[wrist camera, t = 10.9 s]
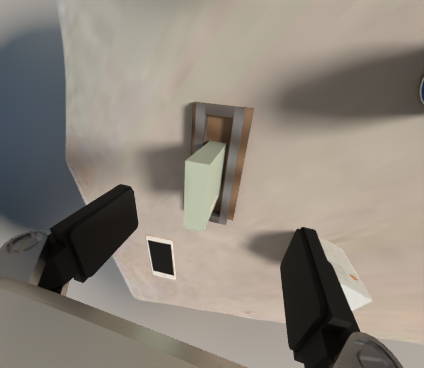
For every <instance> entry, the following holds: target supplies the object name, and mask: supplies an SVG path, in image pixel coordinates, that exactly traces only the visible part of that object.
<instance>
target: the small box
mask: <svg viewBox="0 0 424 368" xmlns="http://www.w3.org/2000/svg"><path fill="white" fill-rule="evenodd" d="M318 238H319V240H320V243H321V245H322V248H323V250H324V253H325V255H326V258H327V260H328V261H329V262H330V263H331V264H332V266H333V268H334V270H335V272H336V275H337V277H338V280H339V282H340V284H341V287H342V289H343V291H344V294H345V296H346V299H347V301H348V303H349V306H350V308H351V311H353V310H355V309H357V308H359V307H361V306H363V305H365V304H367V303H369V302H371V301H372V298H371V296H370V295H369V293H368V291H367V290H366V288H365V286H364V285H363V283H362V281H361V280H360V278H359V276H358V275H357V273H356V271H355V270H354V268H353V266H352V265H351V263H350V261H349V260H348V258H347V256H346V255H345V253H344V251H343V249H341V248H339V247H338V246H336V245H334V244H332V243H330V242H328V241H327V240H325V239H323V238H321V237H319V236H318Z"/></svg>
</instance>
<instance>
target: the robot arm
mask: <svg viewBox="0 0 424 368" xmlns="http://www.w3.org/2000/svg"><path fill="white" fill-rule="evenodd" d="M137 227H138V218H137V211H136V204H135V197H134V191H133V190H132V188H131V187H130V186H127V185H122V184H120V185H118V186H116V187H115V188H113V189H112V190H110V191H108V192H107V193H105V194H104V195H102V196H100V197H99V198H97V199H96V200H94V201H92V202H91V203H89V204H88V205H86V206H85V207H83V208H81V209H80V210H78V211H77V212H75V213H74V214H72V215H70V216H69V217H67V218H66V219H64V220H62V221H61V222H59V223H58V224H56V225H54V226H53V227H52V228H50V230H51V234H50V235H48V234H47V233H46V232H45V231H42V230H34V231H29V232H25V233H22V234H19V235H17V236H15V237H13V238H11V239H10V240H9V241H7V242H6V243H5V244H4V245H3V246H2V247H1V248H0V368H246V367H245V366H242V365H240V364H237V363H235V362H232V361H230V360H227V359H225V358H222V357H219V356H217V355H214V354H212V353H209V352H207V351H204V350H202V349H199V348H197V347H194V346H192V345H189V344H187V343H184V342H182V341H179V340H177V339H174V338H171V337H169V336H166V335H164V334H161V333H159V332H156V331H153V330H151V329H148V328H145V327H143V326H141V325H138V324H136V323H133V322H130V321H128V320H125V319H123V318H120V317H118V316H115V315H112V314H110V313H107V312H105V311H102V310H99V309H97V308H94V307H92V306H89V305H86V304H84V303H81V302H79V301H76V300H73V299H71V298H68V297H66V293H67V289H68V285H69V281H70V280H71V279H72V278H74V280H76V281H79V282H82V283H84V282H85V281H86V280H87V278H88V277H91V276H93V275H94V274H95V273H96V272H97V270H99V268H100V267H101V266H102V265H103V264H104V263H105V262H106V261H107V260H108V259H109V258H110V257H111V256H112V255H113V253H114V252H115V251H116V250H117V249H118V248H119V247H120V246H121V245H122V244H123V243H124V242H125V241H126V240H127V238H128V237H129V236H130V235H131V234H132V233H133V232H134V231H135V230H136V229H137ZM280 271H281V280H282V290H283V299H284V308H285V317H286V326H287V335H288V344H289V348H290V349H291V350H293V352H294V359H295V360H296V361H298V362H301V363H304V366H305V368H403V367H402V365H401V363H400V362H399V361H398V359H397V358H396V357H395V356H394V355H393V353H392V352H391V351H390V350H389V349H388V348H387V347H386V346H385V345H384V344H382V343H381V342H379V341H378V340H377V339H376V338H374V337H372V336H370V335H368V334H366V333H362V332H360V330H359V327H358V325H357V322H356V320H355V318H354V315H353V313H352V311H351V308H350V306H349V303H348V301H347V299H346V296H345V294H344V291H343V289H342V287H341V284H340V282H339V280H338V277H337V275H336V272H335V270H334V268H333V266H332V264H331V263H330V262H329V261H328V260H327V258H326V255H325V253H324V250H323V248H322V245H321V243H320V240H319V238H318V235H317V233H316V231H315V230H313V229H309V228H305V227H302V228H301V229H297V230H296V232H295V234H294V236H293V238H292V240H291V243H290V245H289V247H288V249H287V251H286V253H285V256H284V258H283V260H282V262H281V266H280Z"/></svg>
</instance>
